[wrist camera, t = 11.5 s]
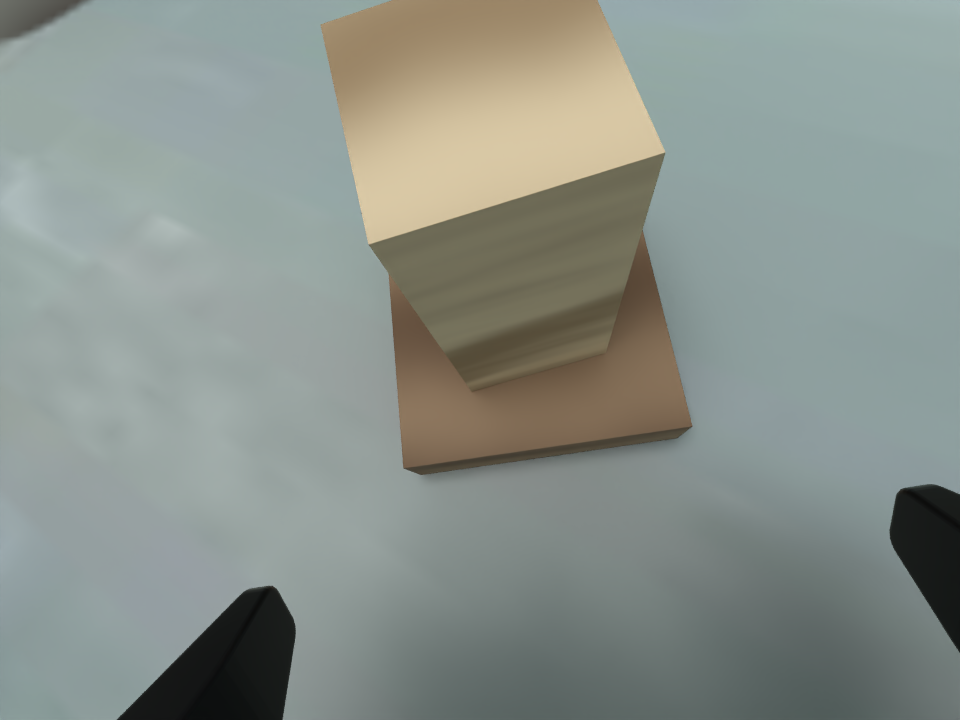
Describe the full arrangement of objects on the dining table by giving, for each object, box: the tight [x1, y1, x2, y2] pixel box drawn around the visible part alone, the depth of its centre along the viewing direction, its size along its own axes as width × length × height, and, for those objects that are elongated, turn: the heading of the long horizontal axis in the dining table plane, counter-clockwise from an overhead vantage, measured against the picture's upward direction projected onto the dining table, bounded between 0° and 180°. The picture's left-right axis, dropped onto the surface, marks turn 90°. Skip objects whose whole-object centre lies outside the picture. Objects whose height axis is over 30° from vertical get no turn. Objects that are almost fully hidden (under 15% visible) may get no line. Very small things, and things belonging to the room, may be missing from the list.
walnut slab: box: [389, 230, 692, 475], centre depth 21 cm, size 10×10×3 cm
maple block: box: [321, 0, 665, 392], centre depth 15 cm, size 5×5×11 cm
